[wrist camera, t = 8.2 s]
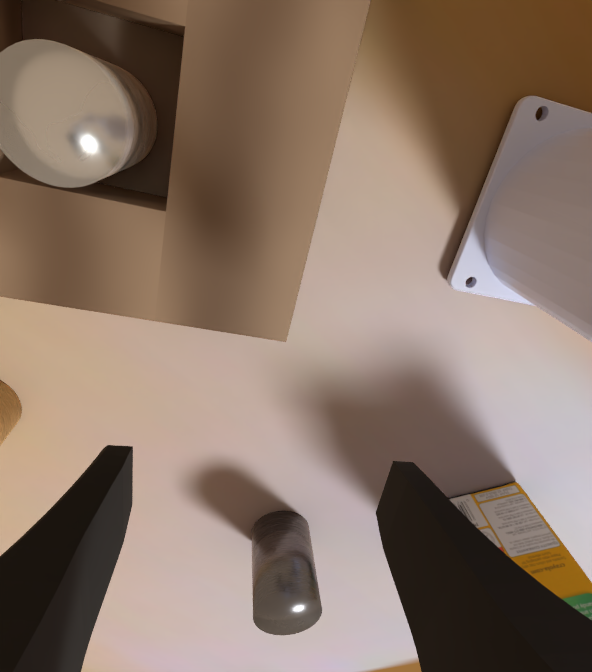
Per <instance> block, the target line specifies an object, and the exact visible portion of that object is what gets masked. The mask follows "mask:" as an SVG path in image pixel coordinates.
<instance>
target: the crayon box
mask: <svg viewBox="0 0 592 672" xmlns="http://www.w3.org/2000/svg"><path fill="white" fill-rule="evenodd" d="M449 500H450V501H451V502H452V503H453V504H454V505H455V506H456V507H457V508H458V509H459V510H460V511H461V512H462V513H463V514H464V515H465V516H466V517H467V518H468V519H469V520H470V521H471V522H472V523H473V524H474V525H475V526H476V527H477V528H478V529H479V530H480V531H481V532H482V533H483V534H484V535H485V536H486V537H487V538H489V539H490V540H491V541H492V542H493V543H494V544H495V545H496V546H497V547H498V548H499V549H500V550H502V551H503V552H504V553H505V554H506V555H507V556H508V557H510V558H511V559H512V560H513V561H514V562H515V563H517V564H518V565H519V566H520V567H521V568H523V569H524V570H525V571H526V572H528V573H529V574H530V575H531V576H532V577H534V578H535V579H536V580H537V581H539V582H540V583H541V584H542V585H544V586H545V587H546V588H548V589H549V590H550V591H552V592H553V593H554V594H555V595H557V596H558V597H560V598H561V599H562V600H564V601H565V602H567V603H568V604H569V605H571V606H572V607H573V608H575V609H576V610H578V611H579V612H580V613H582V614H583V615H585V616H586V617H588V618H589V619H591V620H592V583H591V581H590V580H589V578H588V577H587V576H586V574H585V573H584V572H583V570H582V569H581V567H580V566H579V565H578V563H577V562H576V561H575V559H574V558H573V557H572V555H571V554H570V553H569V551H568V550H567V548H566V547H565V546H564V544H563V543H562V542H561V540H560V539H559V538H558V536H557V535H556V534H555V532H554V531H553V530H552V528H551V527H550V525H549V524H548V523H547V522H546V520H545V519H544V517H543V516H542V515H541V513H540V512H539V511H538V509H537V508H536V506H535V505H534V504H533V503H532V501H531V500H530V498H529V497H528V495H527V494H526V493H525V492H524V490H523V489H522V488H521V486H520V485H519V484H518V483H516V482H512V483H508V484H506V485H505V486H501V487H497V488H493V489H489V490H485V491H481V492H477V493H473V494H468V495H464V496H460V497H456V498H452V499H449Z"/></svg>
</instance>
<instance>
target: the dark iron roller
mask: <svg viewBox="0 0 592 672" xmlns="http://www.w3.org/2000/svg"><path fill="white" fill-rule="evenodd" d="M252 578H253V620H254V623H255V625H256V626H257V627H258V628H259V629H260V630H262V631H264V632H266V633H269V634H274V635H290V634H295V633H299V632H302V631H304V630H306V629H308V628H310V627H311V626H313V625H314V624H315V623H316V622H317V621H318V620H319V618H320V616H321V613H322V607H321V601H320V594H319V588H318V582H317V576H316V569H315V563H314V557H313V550H312V544H311V538H310V532H309V526H308V523H307V521H306V520H305V519H304V518H303V517H302V516H301V515H299V514H297V513H294V512H290V511H277V512H272V513H269V514H267V515H265V516H263V517H261V518H260V519H259V520H258V521H257V522H256V523H255V524H254V526H253V528H252Z"/></svg>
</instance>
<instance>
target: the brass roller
mask: <svg viewBox="0 0 592 672" xmlns="http://www.w3.org/2000/svg"><path fill="white" fill-rule="evenodd" d="M21 413H22V408H21V403H20V400H19V398H18V396H17V395H16V393H15V392H14V391H13V390H12V389H11V388H10V387H9V386H8V385H7V384H5V383H4V382H2V381H1V380H0V446H1V444H2V443H3V441H4V440H5V439H6V437H7V436H8V435H9V433H10V432H11V431H12V429H13V428H14V427H15V425H16V424H17V422H18V421H19V419H20V417H21Z"/></svg>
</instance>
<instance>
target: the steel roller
mask: <svg viewBox="0 0 592 672" xmlns="http://www.w3.org/2000/svg"><path fill="white" fill-rule="evenodd" d="M157 129H158V122H157V114H156V110H155V107H154V104H153V101H152V99H151V97H150V95H149V93H148V92H147V90H146V89H145V87H144V86H143V85H142V84H141V82H140V81H139V80H138V79H137V78H136V77H134V76H133V75H132V74H131V73H129V72H128V71H126V70H125V69H123V68H121V67H119V66H116V65H114V64H112V63H109V62H107V61H104V60H102V59H99V58H97V57H94V56H92V55H89V54H87V53H84V52H82V51H80V50H77V49H75V48H72V47H70V46H67V45H65V44H62V43H59V42H55V41H51V40H45V39H31V40H24V41H21V42H18V43H15V44H13V45H11V46H9V47H7V48H6V49H4V50H3V51H2V52H0V149H1V150H2V151H3V153H4V154H5V155H6V156H7V157H8V159H10V160H11V161H12V162H13V163H14V164H15V165H16V166H17V167H18V168H19V169H21V170H22V171H23V172H25V173H26V174H28V175H29V176H31V177H33V178H35V179H37V180H39V181H41V182H44V183H46V184H49V185H53V186H57V187H65V188H75V187H82V186H86V185H89V184H92V183H94V182H97V181H99V180H101V179H104V178H106V177H108V176H111V175H113V174H115V173H117V172H120V171H122V170H124V169H127V168H129V167H131V166H133V165H135V164H137V163H139V162H140V161H142V160H143V159H144V158H145V157H146V156H147V155H148V154H149V152H150V151H151V149H152V147H153V145H154V143H155V140H156V136H157Z"/></svg>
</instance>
